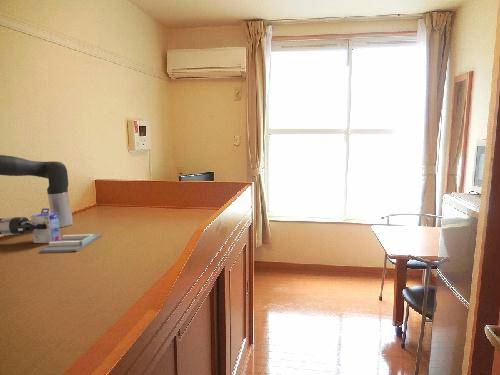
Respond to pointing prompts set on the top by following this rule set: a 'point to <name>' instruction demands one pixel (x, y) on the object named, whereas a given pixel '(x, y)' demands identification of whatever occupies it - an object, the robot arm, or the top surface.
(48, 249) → the rail plate
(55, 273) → the top surface
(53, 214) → the ink cartridge box
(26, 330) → the top surface
